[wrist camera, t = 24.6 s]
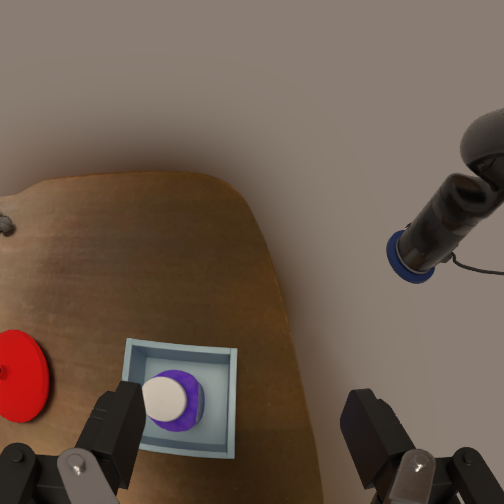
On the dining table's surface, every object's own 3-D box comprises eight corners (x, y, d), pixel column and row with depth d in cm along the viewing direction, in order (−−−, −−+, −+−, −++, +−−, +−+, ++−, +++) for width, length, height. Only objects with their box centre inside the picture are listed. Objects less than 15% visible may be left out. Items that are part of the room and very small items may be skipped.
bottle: (203, 429, 35) (192, 442, 20) (163, 424, 35) (127, 431, 20) (206, 380, 39) (198, 360, 24) (167, 375, 39) (135, 352, 24)
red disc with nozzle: (9, 433, 29) (-15, 432, 23) (-16, 353, 35) (-39, 342, 29) (71, 406, 34) (49, 403, 28) (40, 320, 40) (18, 305, 34)
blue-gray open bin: (233, 360, 42) (237, 348, 34) (231, 449, 35) (234, 458, 27) (143, 352, 41) (126, 337, 33) (137, 439, 34) (117, 444, 26)
